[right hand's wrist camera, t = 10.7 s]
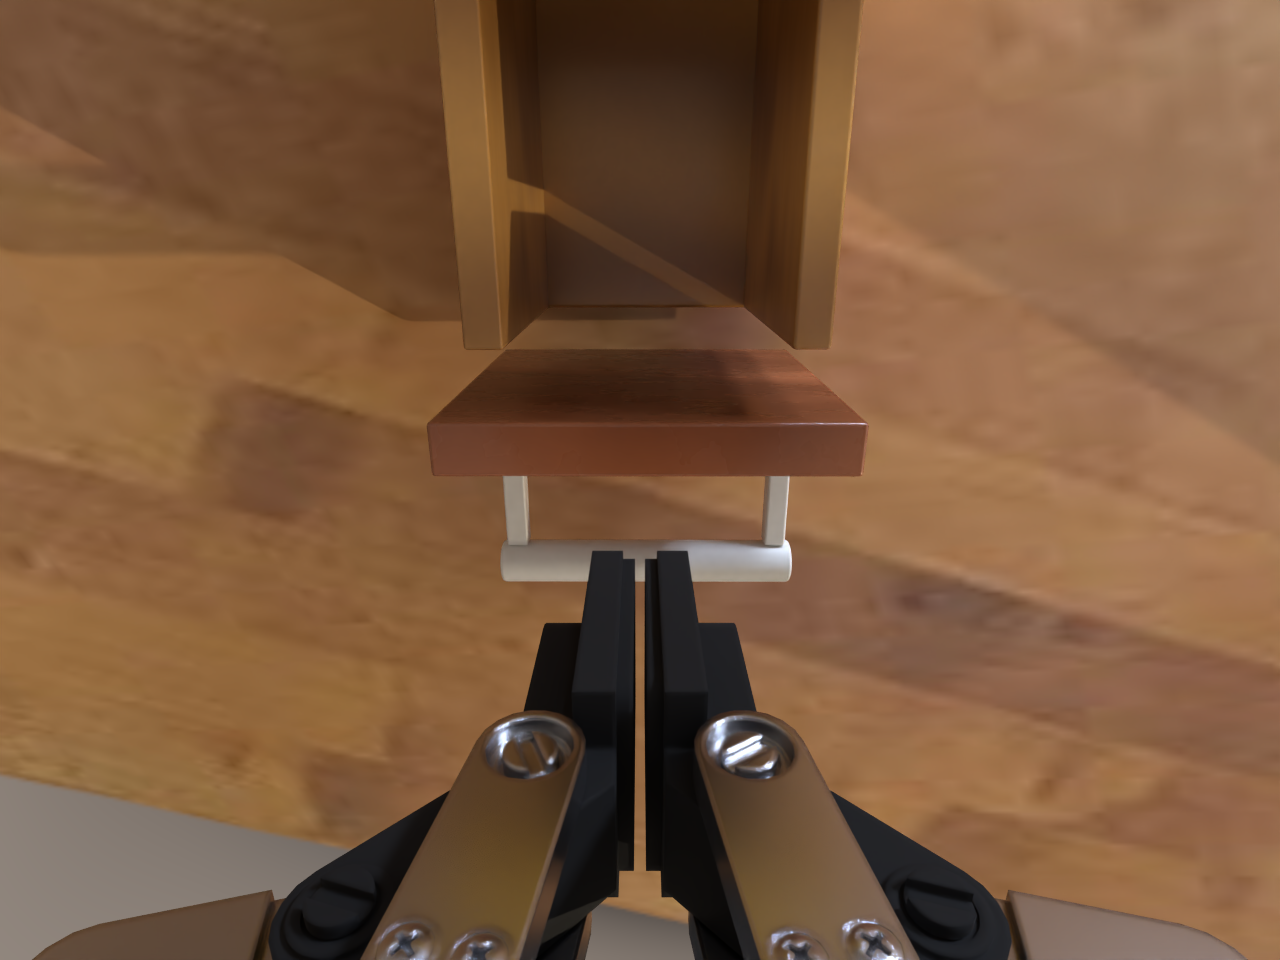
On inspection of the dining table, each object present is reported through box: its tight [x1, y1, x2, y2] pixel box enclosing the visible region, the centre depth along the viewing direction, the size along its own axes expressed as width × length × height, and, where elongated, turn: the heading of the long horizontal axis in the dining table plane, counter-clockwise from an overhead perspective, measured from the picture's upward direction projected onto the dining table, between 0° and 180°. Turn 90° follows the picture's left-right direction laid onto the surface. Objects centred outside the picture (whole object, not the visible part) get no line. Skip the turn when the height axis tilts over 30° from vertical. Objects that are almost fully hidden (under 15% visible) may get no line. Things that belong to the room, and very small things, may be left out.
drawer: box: [427, 0, 869, 582], centre depth 17 cm, size 20×9×9 cm, turn 0°
